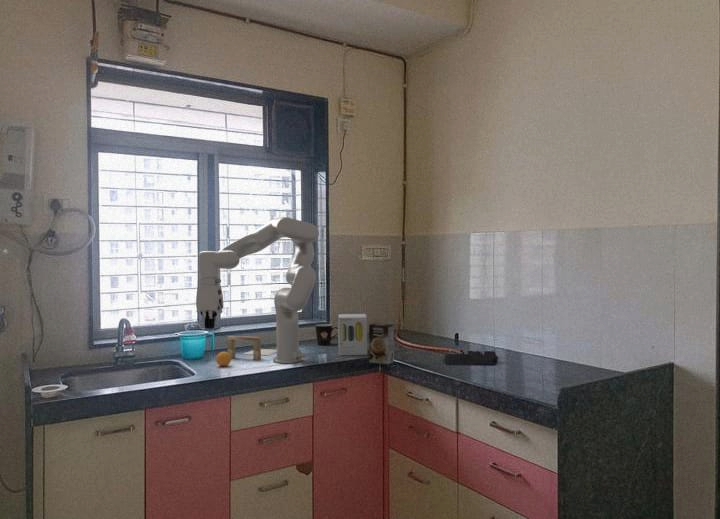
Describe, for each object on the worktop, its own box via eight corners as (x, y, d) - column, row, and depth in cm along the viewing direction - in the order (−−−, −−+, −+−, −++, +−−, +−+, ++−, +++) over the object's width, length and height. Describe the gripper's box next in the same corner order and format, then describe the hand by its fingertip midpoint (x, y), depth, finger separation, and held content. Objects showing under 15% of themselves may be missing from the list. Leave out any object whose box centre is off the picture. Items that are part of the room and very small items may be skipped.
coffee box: (368, 362, 219) (368, 324, 219) (375, 359, 225) (374, 322, 225) (388, 364, 215) (387, 325, 215) (394, 361, 221) (394, 323, 221)
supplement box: (338, 355, 235) (337, 317, 235) (338, 350, 249) (338, 314, 248) (367, 355, 236) (367, 316, 236) (366, 350, 249) (365, 313, 249)
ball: (234, 365, 218) (233, 350, 218) (225, 368, 212) (225, 353, 212) (221, 364, 220) (221, 350, 220) (213, 367, 214) (213, 352, 214)
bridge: (231, 357, 235) (231, 335, 235) (260, 358, 230) (260, 337, 230) (227, 358, 232) (227, 336, 232) (257, 360, 227) (257, 338, 227)
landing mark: (280, 350, 250) (280, 350, 250) (267, 355, 238) (267, 355, 238) (256, 349, 254) (256, 348, 254) (242, 354, 242) (242, 353, 242)
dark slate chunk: (443, 359, 227) (442, 348, 227) (494, 359, 225) (494, 348, 225) (445, 366, 212) (445, 355, 212) (500, 367, 210) (500, 355, 210)
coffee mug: (312, 345, 262) (312, 326, 262) (319, 343, 271) (318, 323, 270) (334, 346, 259) (334, 326, 259) (340, 343, 267) (340, 324, 267)
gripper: (230, 281, 208) (231, 327, 208) (198, 281, 213) (199, 326, 213) (220, 282, 201) (220, 330, 201) (186, 282, 205) (187, 328, 206)
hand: (209, 328), depth 207 cm, fingers closed
